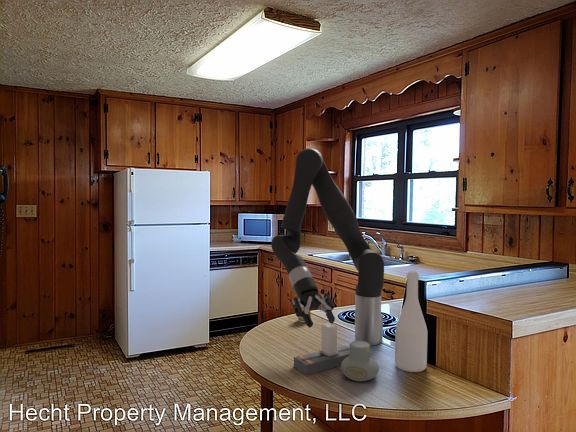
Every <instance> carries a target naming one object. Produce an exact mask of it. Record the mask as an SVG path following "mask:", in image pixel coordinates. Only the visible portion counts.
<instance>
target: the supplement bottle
mask: <svg viewBox="0 0 576 432" xmlns="http://www.w3.org/2000/svg"><path fill="white" fill-rule="evenodd" d="M300 306H301V309H302V310H303V307H304V306H303V305H302V304H301V303H300ZM311 311H312V310H309V311H308V314H309V315H310V318H311V317H312V316H311V315H312V312H311ZM311 319H312V318H311ZM297 321H298V322H300V323H302V324H303V323H304V324H306V323H305V321H304V318H302V317H301V316H299V317H297Z"/></svg>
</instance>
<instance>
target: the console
mask: <svg viewBox="0 0 576 432" xmlns="http://www.w3.org/2000/svg"><path fill="white" fill-rule="evenodd" d="M337 352H339V354H338V355H334V356H330V357H328V356H326V355H325V354H323V353H321V352H319V350H317V351H315V352H310V353H306V354H301V355H296V356H294V357H293V368H295V369H297V370H298V371H300V372H301V373H303V374H305V375H306V376H307V375H310V374H315V373H318V372H323V371H325V370H330V369H334V368H336V367H337V368H338V367H341V363H342V361H343V360H344V359H345V358H346V357H348V356H350V346H347V345H345V344H344V345H339V346H337Z"/></svg>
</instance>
